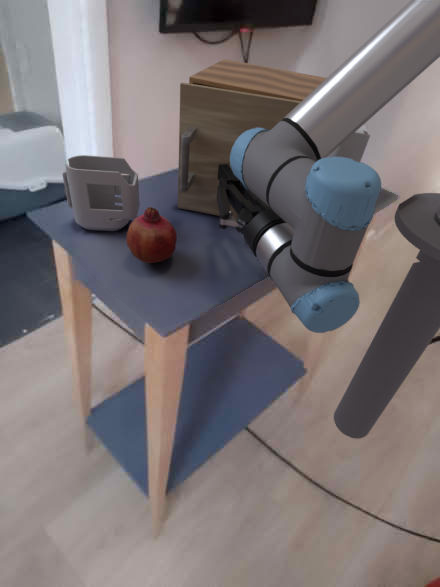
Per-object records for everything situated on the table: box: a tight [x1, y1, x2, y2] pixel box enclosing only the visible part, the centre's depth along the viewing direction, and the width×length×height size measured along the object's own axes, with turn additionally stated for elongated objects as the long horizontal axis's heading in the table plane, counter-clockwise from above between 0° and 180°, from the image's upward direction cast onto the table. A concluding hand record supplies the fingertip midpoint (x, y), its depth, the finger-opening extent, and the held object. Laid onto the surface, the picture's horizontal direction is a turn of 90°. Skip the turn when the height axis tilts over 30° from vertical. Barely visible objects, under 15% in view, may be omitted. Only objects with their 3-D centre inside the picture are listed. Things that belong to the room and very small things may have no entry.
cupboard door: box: [177, 82, 301, 219], centre depth 70 cm, size 6×24×23 cm, turn 78°
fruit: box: [125, 206, 178, 264], centre depth 64 cm, size 8×8×10 cm
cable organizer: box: [62, 154, 141, 232], centre depth 70 cm, size 7×12×12 cm, turn 93°
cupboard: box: [188, 58, 327, 102], centre depth 80 cm, size 18×24×24 cm
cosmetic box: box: [328, 124, 371, 162], centre depth 89 cm, size 8×6×15 cm
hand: (222, 171), depth 73 cm, fingers closed
